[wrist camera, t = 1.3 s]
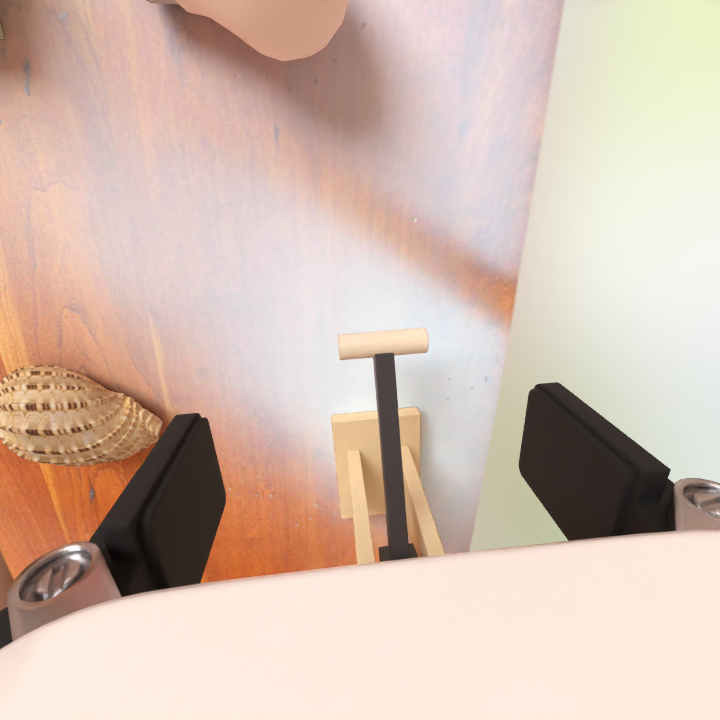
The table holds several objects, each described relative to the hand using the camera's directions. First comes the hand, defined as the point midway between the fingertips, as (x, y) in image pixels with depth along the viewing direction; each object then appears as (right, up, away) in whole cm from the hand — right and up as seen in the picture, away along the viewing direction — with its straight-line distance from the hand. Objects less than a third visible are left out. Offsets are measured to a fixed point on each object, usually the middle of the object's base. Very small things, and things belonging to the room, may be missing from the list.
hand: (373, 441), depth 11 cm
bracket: (+1, -6, +22) cm, 23 cm away
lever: (+1, -4, +12) cm, 13 cm away
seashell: (-20, -1, +17) cm, 27 cm away
